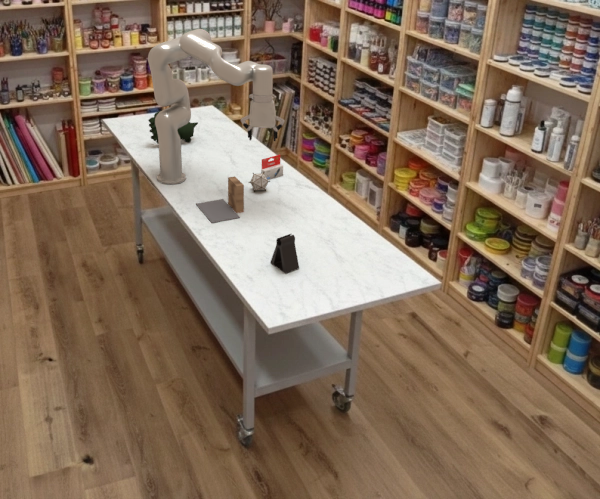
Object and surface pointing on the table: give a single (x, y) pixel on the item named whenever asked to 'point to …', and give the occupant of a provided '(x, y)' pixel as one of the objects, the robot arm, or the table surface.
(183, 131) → the toy figurine
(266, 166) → the ink cartridge box
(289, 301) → the table surface
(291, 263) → the phone stand
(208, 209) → the mat
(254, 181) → the game die
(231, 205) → the walnut slab
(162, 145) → the robot arm
